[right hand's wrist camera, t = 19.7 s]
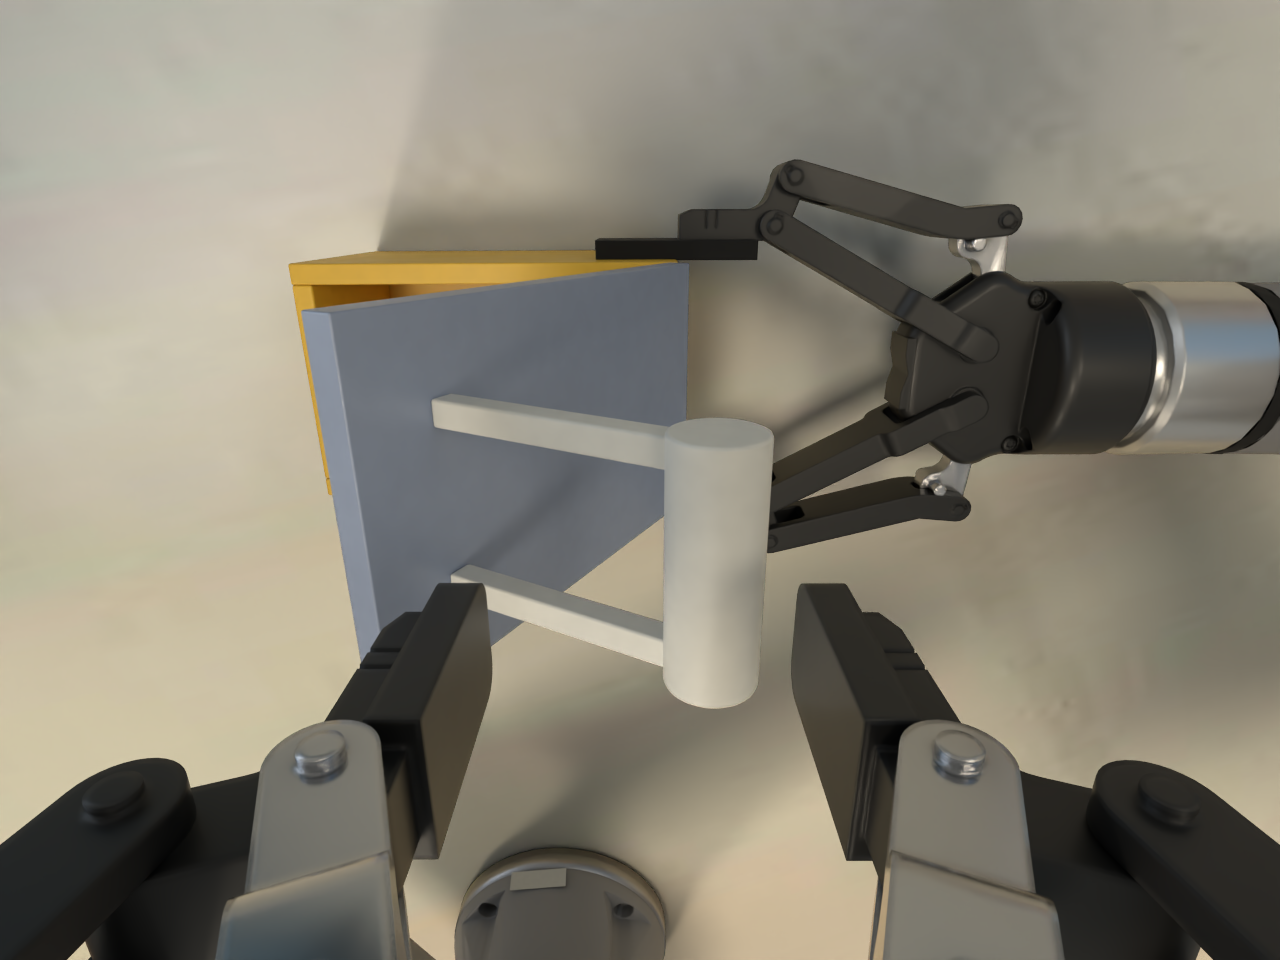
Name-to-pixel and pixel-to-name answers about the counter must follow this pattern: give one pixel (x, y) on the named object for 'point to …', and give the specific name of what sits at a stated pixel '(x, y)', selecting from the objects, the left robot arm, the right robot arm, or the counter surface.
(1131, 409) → the left robot arm
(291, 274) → the chest
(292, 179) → the counter surface
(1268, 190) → the counter surface
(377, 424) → the lid
